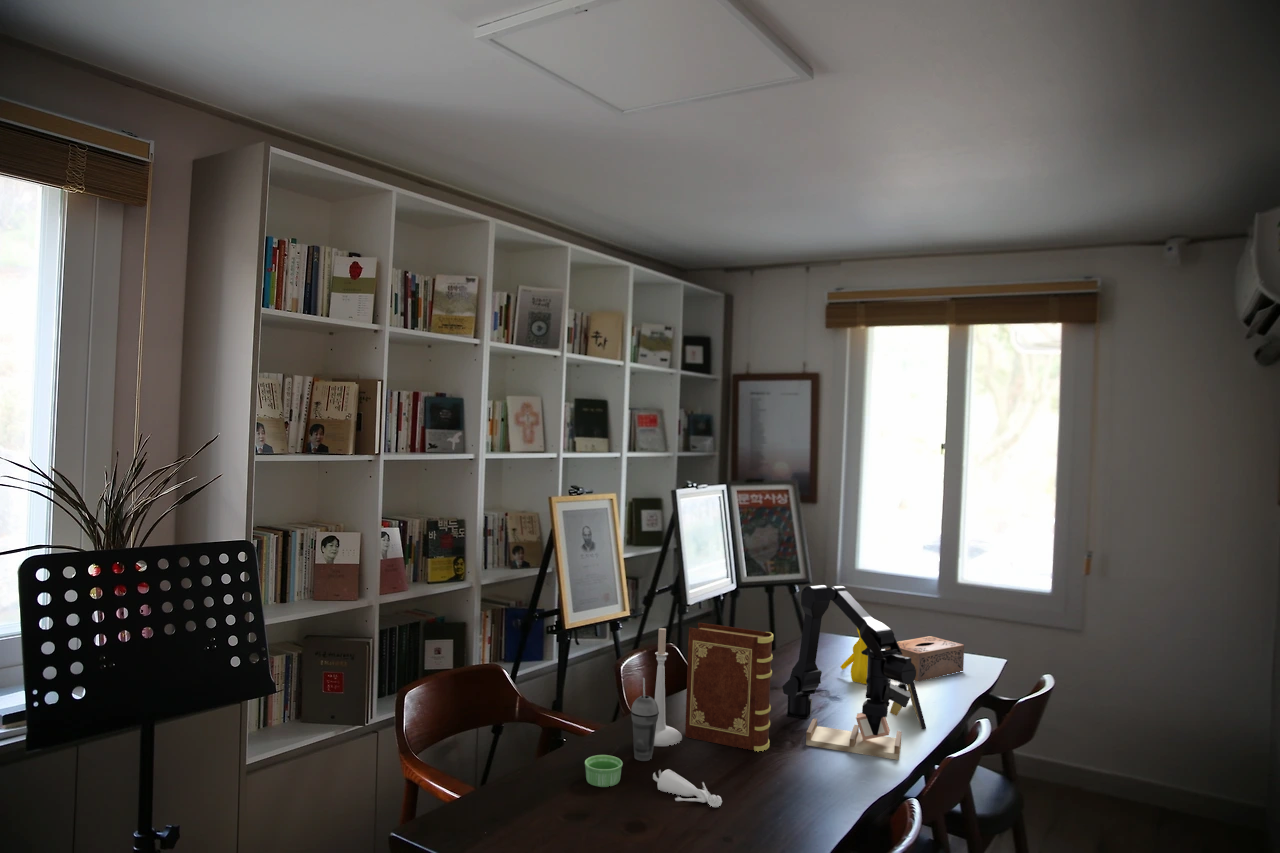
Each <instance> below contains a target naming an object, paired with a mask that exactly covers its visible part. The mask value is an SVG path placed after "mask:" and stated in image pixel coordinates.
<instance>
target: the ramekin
mask: <svg viewBox="0 0 1280 853" xmlns="http://www.w3.org/2000/svg"><path fill="white" fill-rule="evenodd" d="M623 764H624V763H623V761H622V760H621V759H620V758H619V757H616V756H613V755H608V754H597V755H592V756H589V757H588V758H586V759H585V760H584V767H585V778H586V782H587V784H590V785H591V786H594V787H600V788H609V786H610V787H613V786H615V785H618V784H619V783H620V780H621V776H622V769H623V768H622V767H623Z"/></svg>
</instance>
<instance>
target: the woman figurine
mask: <svg viewBox="0 0 1280 853" xmlns="http://www.w3.org/2000/svg"><path fill="white" fill-rule="evenodd" d="M652 779H653V781H655V782H656V783H657V790H658V791H659V790H660V792H663V793H667V792H668V793H667V794H670V793H672V794H671V795H674V794H676V795H675V796H677V797H674V800H675V802H683V801H685V802H699V803H701V804H703V803H707V805H708V804H709V805H710V806H709V805H708V806H709V807H711V806H712V807H711V808H720V807H721V805H722V803H723V800H722V797H721V796H720V795H716V794H711V792H710V791H708V788H707V787H706V785H705V782H704V781H702V782H701V784H702V789H700V788H697V787H696V786H695V785H694V784H693V783H691V782H690V781H689V780H687V779H686V778H684V777H683V776H681V775H680V774H678V773H676V772H675V771H674V770H672V769H670V768H668V769H665V770H664V771H662V770H661V769H659V770H658V775H657V774H656V771H655V772H653V774H652ZM680 795H681V796H680ZM694 796H696V798H694ZM682 797H687V798H682ZM688 797H689V798H688ZM690 797H691V798H690ZM692 797H693V798H692ZM719 806H720V807H719Z"/></svg>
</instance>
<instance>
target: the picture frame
mask: <svg viewBox="0 0 1280 853" xmlns="http://www.w3.org/2000/svg"><path fill="white" fill-rule="evenodd" d="M907 691H910V693H911V697H910V702H911V705H912V707H913V711H914V712H915V715H916V718H917V721H918V723H919V726H920V729H921V730H923V731H924V730H926V729H927V726H926V723H925V722H926V721H925V718H924V714H923V711H922V707H921V705H920V704H921V703H920V699H919V697H918V692H917V689H916V685H915V681H913V682H912V683H911V684H909V685H907ZM902 708H903V707H902V706H901V705H900V704H898V703H896V702H894V701H892V705H891V708H890V711H889V713H890V714H891V715H894V716H896V717H897V716H898V715H899V713H900V711H901V709H902Z"/></svg>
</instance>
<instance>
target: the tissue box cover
mask: <svg viewBox="0 0 1280 853" xmlns="http://www.w3.org/2000/svg"><path fill="white" fill-rule="evenodd" d="M897 643H898V645H899V647H900V650H901V652H902V655H900V656H904V657H909V658H911V663H913V664H914V666H915V669H916V677H915V679H914V680H915V681H914V682H922V680H923V681H926V679H927V680H931V679H930V678H932V679H936V678H935V677H937V678H940V677H939V676H941V677H944V676H943V675H946V676H948V675H947V674H951V675H953V674H952V673H955V674H957V673H956V672H960V671H963V672H964V662H965V661H964V660H965V659H964V658H965V644H962V643H958V642H955V641H952V640H951V641H950V640H947V639H943V638H939V637H936V636H931V635H930V636H929V635H928V636H922V637H917V638H911V639H905V640H899V641H897ZM884 650H890V648H887V649H884ZM960 673H961V672H960Z"/></svg>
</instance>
